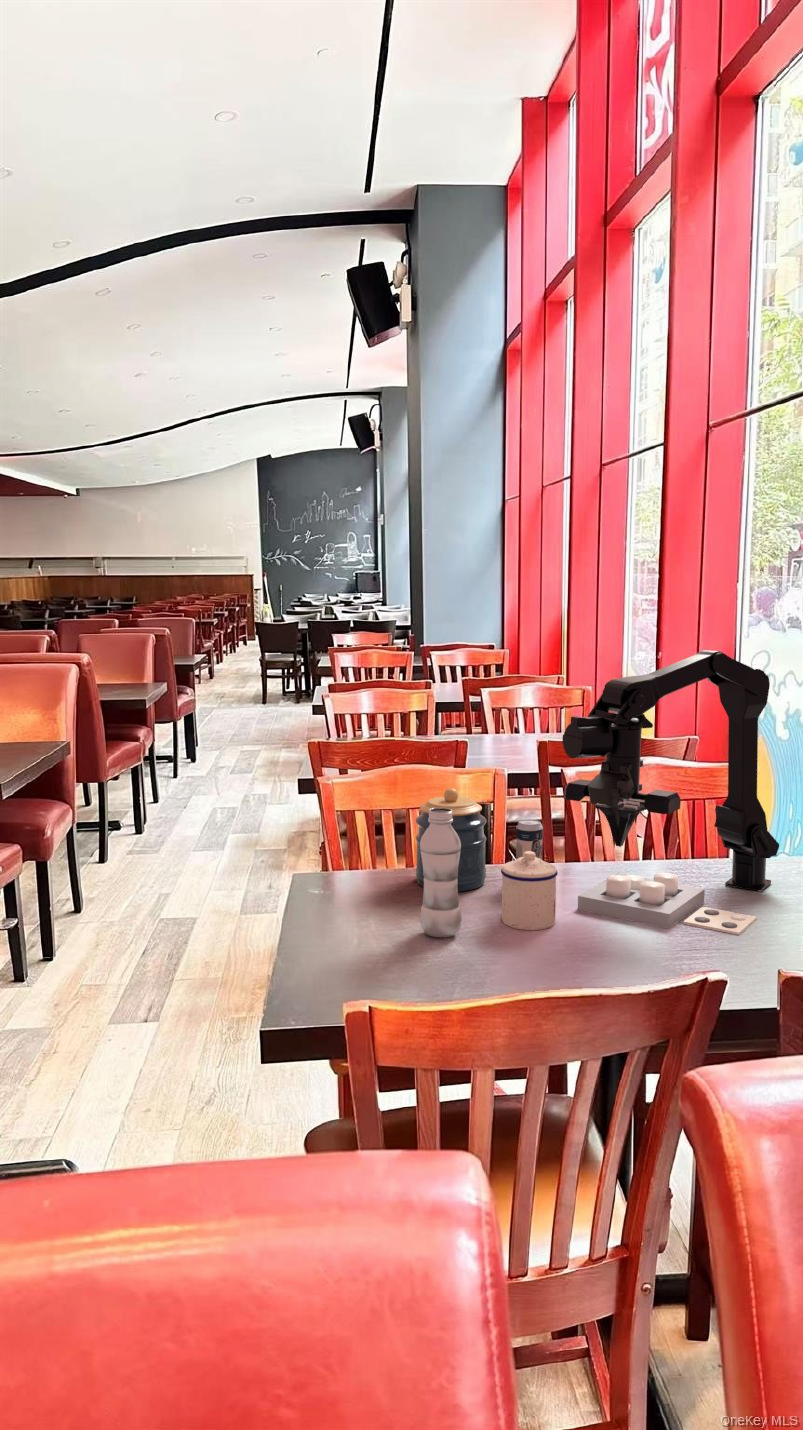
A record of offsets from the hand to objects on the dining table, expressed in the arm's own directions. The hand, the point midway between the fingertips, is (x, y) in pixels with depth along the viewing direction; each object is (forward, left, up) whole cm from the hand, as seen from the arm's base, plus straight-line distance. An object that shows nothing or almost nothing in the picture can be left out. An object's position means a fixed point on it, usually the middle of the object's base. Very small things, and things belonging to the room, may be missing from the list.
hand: (619, 846), depth 168 cm
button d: (+1, +6, -9) cm, 11 cm away
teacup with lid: (+15, -10, -11) cm, 21 cm away
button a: (-5, 0, -10) cm, 12 cm away
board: (-2, +3, -11) cm, 11 cm away
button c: (+1, 0, -9) cm, 9 cm away
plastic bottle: (+29, -17, -11) cm, 35 cm away
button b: (-5, +6, -9) cm, 12 cm away
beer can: (-1, -18, -11) cm, 21 cm away
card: (-2, +17, -11) cm, 20 cm away
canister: (+5, -31, -11) cm, 33 cm away
